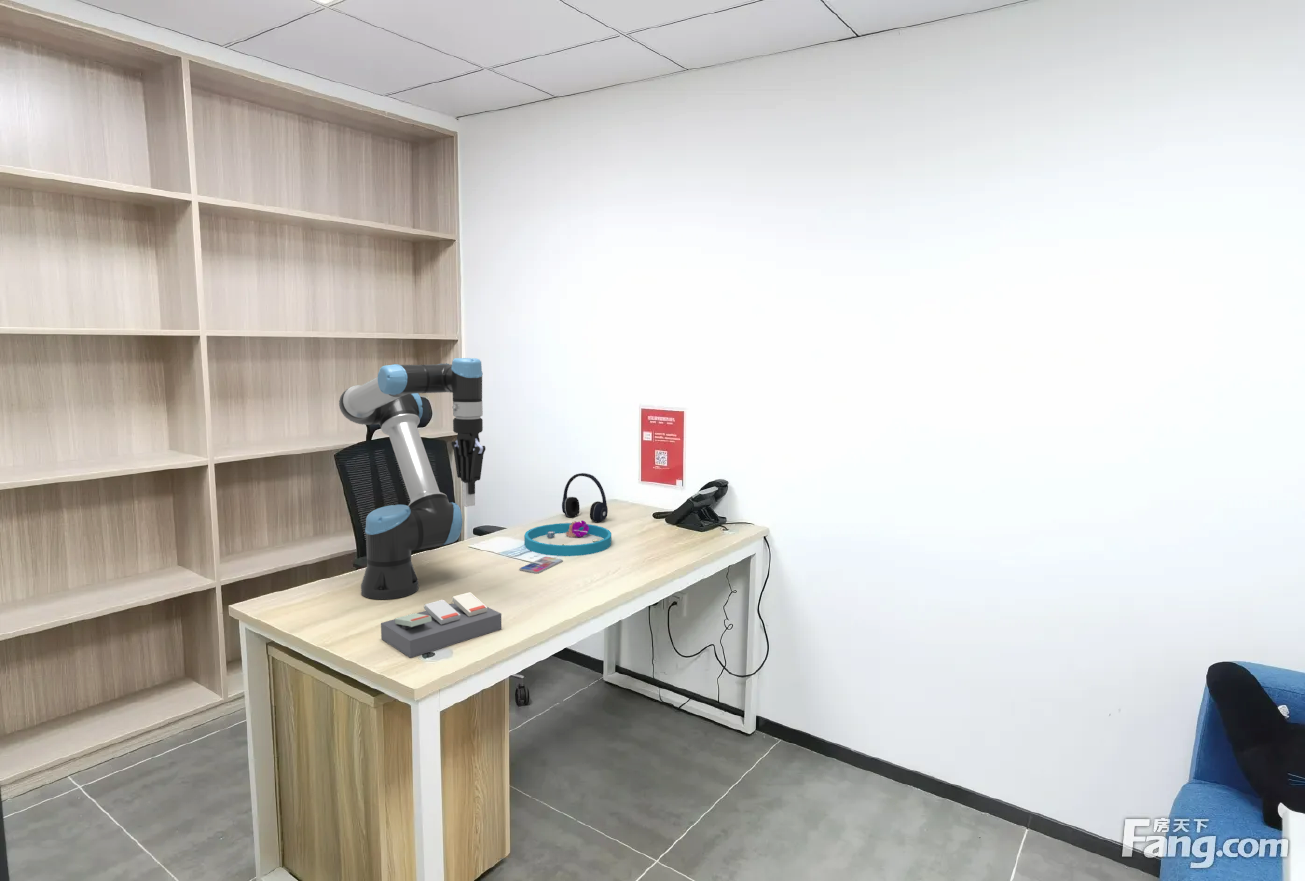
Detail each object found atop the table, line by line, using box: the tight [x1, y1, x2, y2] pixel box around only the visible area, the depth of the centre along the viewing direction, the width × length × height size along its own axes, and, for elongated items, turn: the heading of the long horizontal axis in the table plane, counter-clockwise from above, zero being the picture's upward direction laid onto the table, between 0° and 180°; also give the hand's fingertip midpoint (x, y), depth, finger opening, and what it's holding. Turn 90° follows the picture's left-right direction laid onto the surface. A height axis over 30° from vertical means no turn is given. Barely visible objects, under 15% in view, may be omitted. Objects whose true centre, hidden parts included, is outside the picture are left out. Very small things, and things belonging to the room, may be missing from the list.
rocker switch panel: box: [380, 602, 502, 659], centre depth 179 cm, size 19×24×5 cm
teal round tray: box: [523, 520, 612, 557], centre depth 257 cm, size 30×30×6 cm
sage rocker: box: [394, 612, 432, 627], centre depth 171 cm, size 8×5×1 cm, turn 45°
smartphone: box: [518, 556, 564, 575], centre depth 232 cm, size 7×1×15 cm
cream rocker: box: [451, 591, 488, 617], centre depth 182 cm, size 8×5×1 cm, turn 46°
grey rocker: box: [423, 599, 460, 625], centre depth 177 cm, size 8×5×1 cm, turn 46°
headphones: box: [561, 472, 609, 523], centre depth 290 cm, size 20×7×18 cm, turn 57°
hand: (469, 505), depth 196 cm, fingers closed
